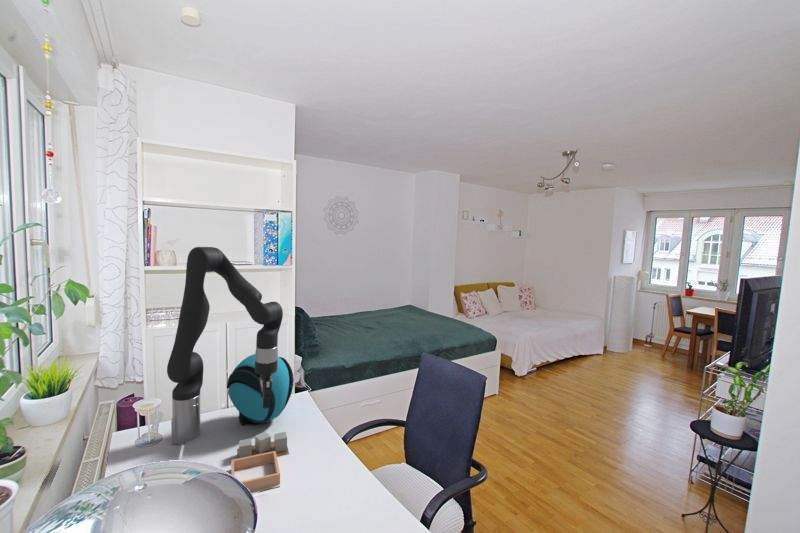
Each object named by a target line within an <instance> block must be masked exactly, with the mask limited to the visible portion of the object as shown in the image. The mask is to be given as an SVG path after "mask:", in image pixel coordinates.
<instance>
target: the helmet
mask: <svg viewBox="0 0 800 533" xmlns="http://www.w3.org/2000/svg"><path fill="white" fill-rule="evenodd" d="M259 377H260V375H259V374H257V373H255V353H253V354H251V355H248V356H247V357H245V358H244V359H243V360H241V361H240V362H239V364H237V366H235V368H234V369H233V371H232V373H231V374H230V375H229V376H228V379H227V382H226V389H227V395H228V396H229V399H230V400H231V403H232V404H233V406H234V407H235V408H236V411H238V420H239V421H238V422H239V423H240V425H242V426H255V425H260V424H265V423H268V422H271V421H272V420H274V419H276V418H278V417H279V416H280V415H281V414H282V412H283V411H284V410H285V408H286V407H287V405H288V403H289V400H290V398H291V397H292V394H293V389H294V384H295V383H294V373H293V369H292V366H291V365H290V363H289V362H288V360H287V359H285V358H284V357H283V356H282V357H281V356H278V365H277V371H276V372H275V373H273V374H271V377H272V395H271V396H272V397H271V398H270V407H269V408H266V409H264V408H263V398H261V386H260V385H261V384H260V378H259ZM267 394H269V392H267Z"/></svg>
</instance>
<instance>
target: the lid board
mask: <svg viewBox="0 0 800 533" xmlns="http://www.w3.org/2000/svg"><path fill="white" fill-rule="evenodd" d="M236 450H237V451H236V452H237V459H239V447H238V448H236ZM272 451H275V448H274V440H273V441H271V448H270V450H268V451H265V452H263V453H267V452H272ZM263 453H259V452H258V451H257V450H256V449H255V444H254V445H253V444H252V456H253V455H258V454H263ZM287 455H290V451H289V448H288V446H287V450H286V451H282V452H277V453H276V456H277V458H278V457H283V456H287Z"/></svg>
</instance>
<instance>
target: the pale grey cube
mask: <svg viewBox="0 0 800 533" xmlns="http://www.w3.org/2000/svg"><path fill="white" fill-rule="evenodd" d="M271 437H272V436H271V435H270V434H269V433H268V432H267V431H265V432H262V433H258V434H256V435H255V437H254V445H255V449H256V450H257V451H258V452H259V453H263V452H265V451H268V450H270V448H271V442H272V440H271Z"/></svg>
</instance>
